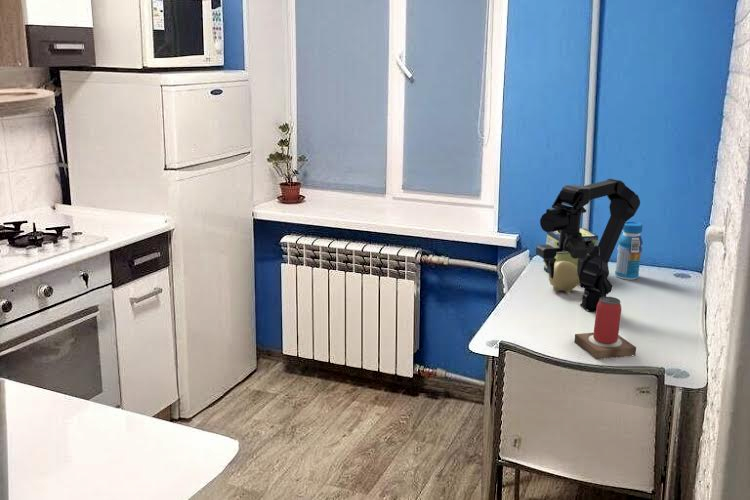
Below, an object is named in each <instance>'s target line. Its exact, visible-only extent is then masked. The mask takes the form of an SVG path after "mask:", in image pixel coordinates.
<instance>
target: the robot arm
mask: <svg viewBox="0 0 750 500" xmlns="http://www.w3.org/2000/svg"><path fill="white" fill-rule="evenodd" d="M603 197H606V198H608V200H609V201H610V202H609V206H608V208H609V214H610V217H609V218H608V221H607V223H606V226H605V228H604V231H603V232H602V235H601V237H600V240H599V242H598V244H597V245H595V244H594V242H593V241H582V233H580V229H581V221H582V220H581V219H582V214H584V213H587V209H586V208H585V207H584V206H586V205H588V204H589V203H590V202H591V201H592V200H595V199H600V198H603ZM640 205H641V200H640V197H639V195H638V194H636V193H635V191H633V190H632V189H631V188H630V187H628V186H627V185H626V184H625V183H624V182H623V181H622V180H619V179H614V178H608V179H606V180H603V181H599V182H594V183H591V184H590V183H589V184H586V185H576V184H566V185H564V186H562V189H561V190H560V191H559V194H558V195H557V196H556V198H555V200H554V202H553V203H552V205H551V208H546V209H545V210H546V211H545V213H543V214H542V215H541V217H540V220H539V224H540V225H539V226H540V228H541V229H542V231H544V232H545V233H547V232H553V231H558V233H560V237H559V242H557V246H559V247H558V248H554V247H552V246H550V245H546V244H538V245H537V246H536V248H535V254H536V255H537V256H539V257H540V258H542V259H543V261H544V262H545V263H546V266H547V269H548V272H549V273H548V272H547V273H548V276H549V275H550V278H553V276H554V263H555V261H556V260H557V259H555V258H554V257H555V256H556V254H564V253H570V255H571V257H572V258H575V259H577V258H578V261H577V275H578V276H579V281H580V284H579V285H580V288H583V293H582V297H581V303H580V304H579V306H581V307H582V308H583V309H585V310H586V311H588V312H590V313H591V312H596V308H597V304H598V302H599V300H600V298H601V297H607V295H609V293H611V292H612V289H613V285H612V283H611V282H610V280H609V279H608V278H609V275H610V270H609V261H610V260H611V257H612V254H613V253H614V250H615V248H616V245H617V243H618V242H619V239H620V237H621V235H622V234H621V233H623V232H622V229H623V227H624V225H625V222H627V221H628V220H630V219H631V218H633V217H634V216H635V214H636V213H637V211H638V209H639V208H640ZM563 250H564V251H563Z"/></svg>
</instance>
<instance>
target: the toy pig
mask: <svg viewBox="0 0 750 500" xmlns="http://www.w3.org/2000/svg"><path fill="white" fill-rule="evenodd" d="M548 281H549V283H550V285H551V286H552V288H553V290H555V291H556V290H559V291H563V292H566V294H571V291H572V290H574V289H575V288H576V287H577V286H578V285H580V281H579V276H578V275H577V266H576V265H574V264H573V263H571V262H568V261H559V262H556V263H555V264H554V276H553V278H550V275H549V274H548Z"/></svg>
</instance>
